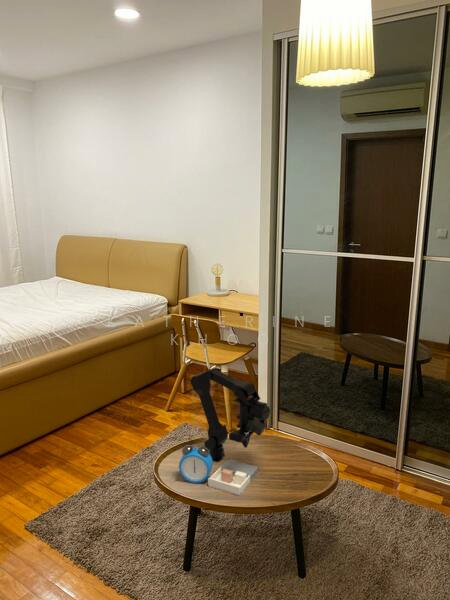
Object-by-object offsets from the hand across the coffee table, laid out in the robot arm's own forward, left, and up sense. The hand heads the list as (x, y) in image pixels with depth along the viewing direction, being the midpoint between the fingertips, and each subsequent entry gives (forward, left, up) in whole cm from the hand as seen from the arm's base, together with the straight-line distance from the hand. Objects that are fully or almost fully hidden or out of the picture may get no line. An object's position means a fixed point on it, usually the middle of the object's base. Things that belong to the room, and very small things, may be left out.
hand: (245, 447), depth 194 cm
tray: (-2, -12, -11) cm, 16 cm away
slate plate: (-2, -3, -11) cm, 11 cm away
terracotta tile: (-3, -10, -8) cm, 13 cm away
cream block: (+2, -9, -8) cm, 12 cm away
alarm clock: (-16, -15, -11) cm, 24 cm away
